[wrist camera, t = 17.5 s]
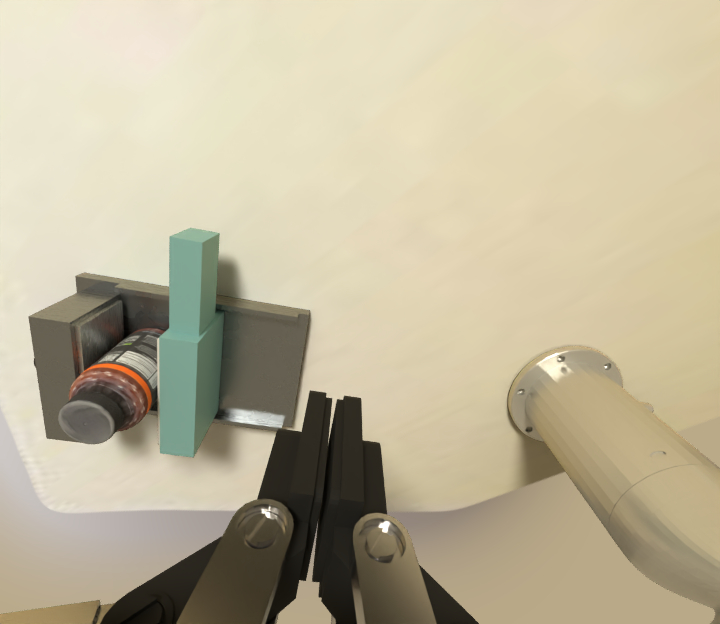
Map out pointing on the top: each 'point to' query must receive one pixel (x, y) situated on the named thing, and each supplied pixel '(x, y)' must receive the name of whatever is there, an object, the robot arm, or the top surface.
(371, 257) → the top surface
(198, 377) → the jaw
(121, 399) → the supplement bottle
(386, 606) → the robot arm
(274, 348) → the vise
